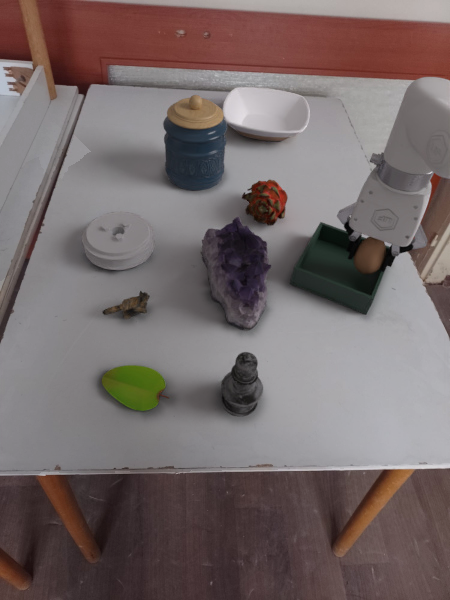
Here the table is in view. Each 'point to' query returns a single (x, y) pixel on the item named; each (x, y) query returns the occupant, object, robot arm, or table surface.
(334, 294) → the box
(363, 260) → the egg
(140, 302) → the cat figurine
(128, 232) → the lid
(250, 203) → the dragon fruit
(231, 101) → the bowl
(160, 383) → the decorative leaf
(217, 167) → the canister
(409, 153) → the robot arm
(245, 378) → the grey tall stone piece
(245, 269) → the geode
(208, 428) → the table surface
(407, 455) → the table surface
